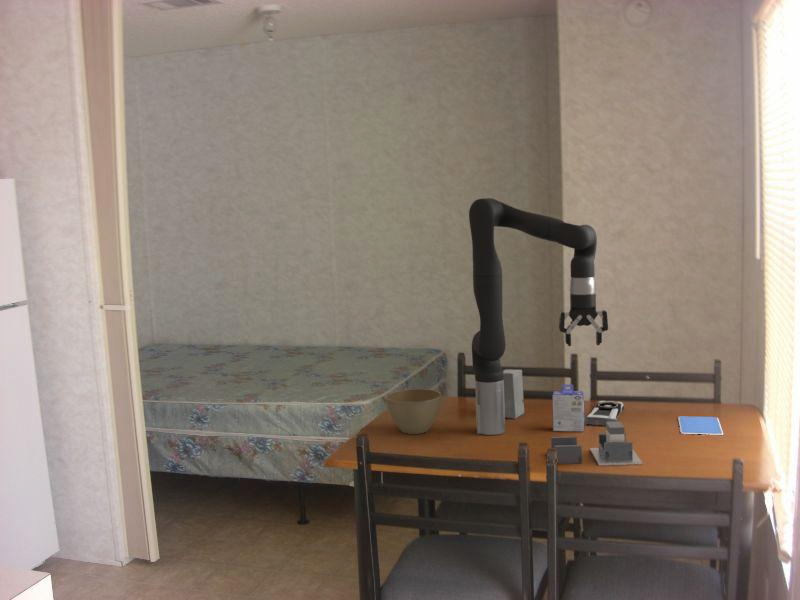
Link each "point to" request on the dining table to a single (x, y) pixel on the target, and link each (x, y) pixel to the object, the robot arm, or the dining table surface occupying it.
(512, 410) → the skincare box
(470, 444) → the dining table surface
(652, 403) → the dining table surface
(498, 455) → the dining table surface
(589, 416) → the graphics card
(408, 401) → the flower pot
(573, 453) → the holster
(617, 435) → the plug
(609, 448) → the block
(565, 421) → the ink cartridge box
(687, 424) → the tablet computer
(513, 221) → the robot arm
